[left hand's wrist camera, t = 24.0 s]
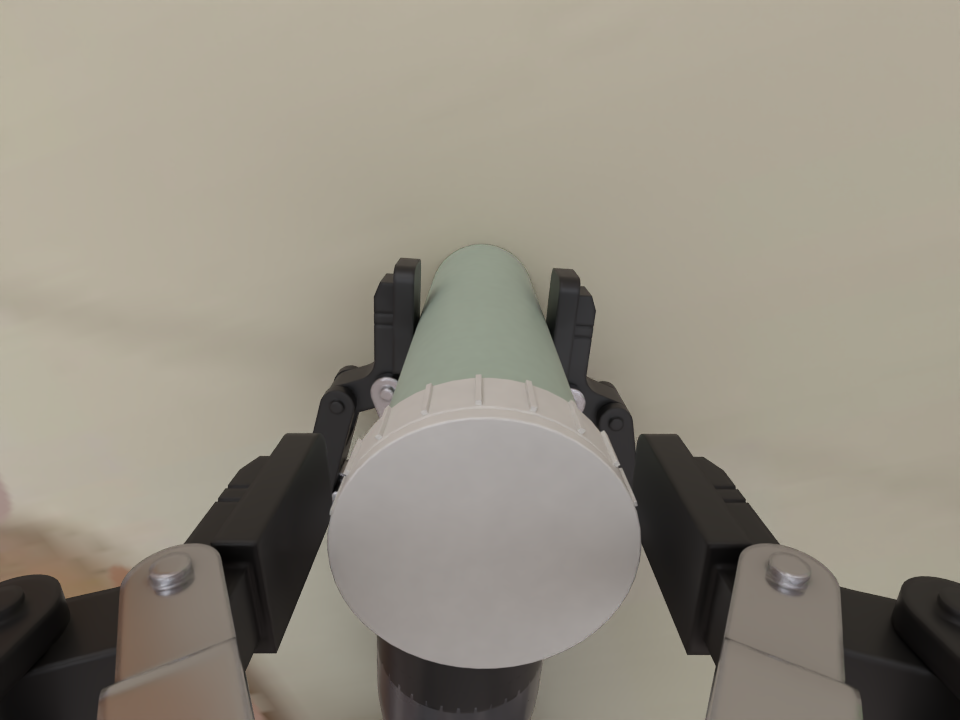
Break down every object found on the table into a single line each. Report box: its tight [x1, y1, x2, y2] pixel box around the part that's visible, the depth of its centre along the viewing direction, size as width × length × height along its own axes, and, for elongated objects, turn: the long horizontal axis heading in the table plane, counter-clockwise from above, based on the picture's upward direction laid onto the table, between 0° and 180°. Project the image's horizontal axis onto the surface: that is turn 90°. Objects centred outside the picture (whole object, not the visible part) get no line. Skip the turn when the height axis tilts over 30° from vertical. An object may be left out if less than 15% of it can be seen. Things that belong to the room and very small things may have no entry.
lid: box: [327, 374, 641, 669], centre depth 10 cm, size 6×6×2 cm
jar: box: [390, 244, 577, 408], centre depth 18 cm, size 5×5×17 cm
